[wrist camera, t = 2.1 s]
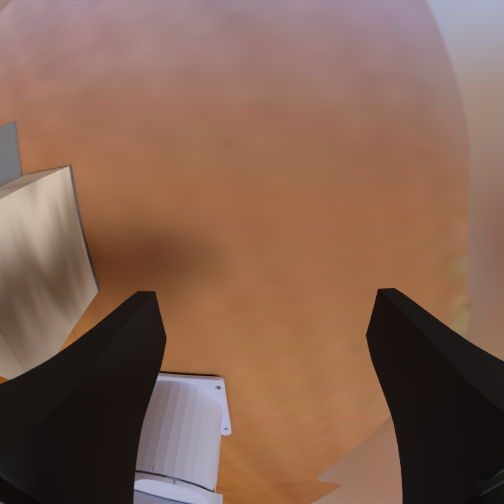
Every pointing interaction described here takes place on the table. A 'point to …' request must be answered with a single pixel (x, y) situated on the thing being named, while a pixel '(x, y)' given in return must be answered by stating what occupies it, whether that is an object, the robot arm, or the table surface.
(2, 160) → the mat
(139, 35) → the table surface
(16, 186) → the birch block
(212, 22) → the table surface
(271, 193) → the table surface
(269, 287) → the table surface
